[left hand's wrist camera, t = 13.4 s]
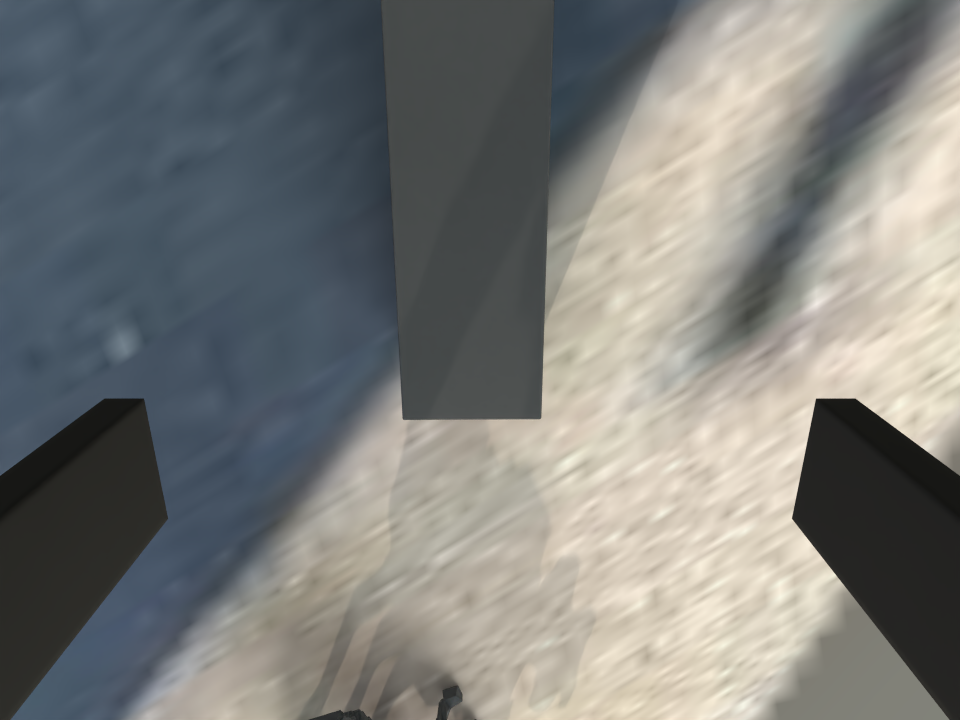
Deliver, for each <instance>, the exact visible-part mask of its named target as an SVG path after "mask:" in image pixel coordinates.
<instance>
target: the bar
mask: <svg viewBox="0 0 960 720" xmlns="http://www.w3.org/2000/svg"><path fill="white" fill-rule="evenodd" d="M381 13H382V32H383V52H384V71H385V90H386V109H387V128H388V147H389V166H390V185H391V204H392V223H393V242H394V261H395V280H396V299H397V318H398V337H399V356H400V375H401V394H402V413H403V420H477V419H541V410H542V377H543V345H544V313H545V281H546V249H547V216H548V184H549V152H550V120H551V87H552V55H553V23H554V0H381Z"/></svg>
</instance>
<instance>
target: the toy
mask: <svg viewBox="0 0 960 720" xmlns="http://www.w3.org/2000/svg"><path fill="white" fill-rule="evenodd" d="M460 702H462V693H461V691H460V689H459V687H458V686H455V687H452V688H449V689H445V690H443V699H442V700H441V701H440V702H439V707H438V715H437V718H436V720H447V717H448V714H449V711H450V709H451V708H452V707H453V706H455V705H457V704H459V703H460ZM310 720H371V718H370V717H367V716H366V715H365V714H364V712H363V711H361V710H360V709H359V710H355V711H349V712H345V713H343V712H342V711H341V710H339V711H336V712H332V713H329V714H326V715H323V716H320V717H316V718H313V719H310ZM475 720H476V719H475Z"/></svg>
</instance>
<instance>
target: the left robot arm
mask: <svg viewBox="0 0 960 720" xmlns="http://www.w3.org/2000/svg"><path fill="white" fill-rule="evenodd" d="M167 519H168V516H167V511H166V507H165V502H164V497H163V492H162V487H161V482H160V477H159V472H158V467H157V462H156V457H155V452H154V447H153V442H152V437H151V432H150V427H149V422H148V417H147V412H146V407H145V402H144V399H103V400H102V401H101V402H99V403H98V404H97V405H95V406H94V407H93V408H91V409H90V410H89V411H87V412H86V413H85V414H83V415H82V416H81V417H79V418H78V419H76V420H75V421H74V422H72V423H71V424H70V425H68V426H67V427H66V428H64V429H63V430H62V431H60V432H59V433H58V434H56V435H55V436H54V437H52V438H51V439H49V440H48V441H47V442H45V443H44V444H43V445H41V446H40V447H39V448H37V449H36V450H35V451H33V452H32V453H31V454H29V455H28V456H27V457H25V458H24V459H22V460H21V461H20V462H18V463H17V464H16V465H14V466H13V467H12V468H10V469H9V470H8V471H6V472H5V473H4V474H2V475H1V476H0V720H11V718H12V717H13V716H14V714H15V713H16V712H17V711H18V709H19V708H20V707H21V706H22V704H23V703H24V702H25V700H26V699H27V698H28V697H29V695H30V694H31V693H32V691H33V690H34V689H35V688H36V686H37V685H38V684H39V683H40V681H41V680H42V679H43V677H44V676H45V675H46V674H47V672H48V671H49V670H50V669H51V667H52V666H53V665H54V663H55V662H56V661H57V660H58V658H59V657H60V656H61V654H62V653H63V652H64V651H65V649H66V648H67V647H68V646H69V644H70V643H71V642H72V640H73V639H74V638H75V637H76V635H77V634H78V633H79V632H80V630H81V629H82V628H83V626H84V625H85V624H86V623H87V621H88V620H89V619H90V617H91V616H92V615H93V614H94V612H95V611H96V610H97V609H98V607H99V606H100V605H101V603H102V602H103V601H104V600H105V598H106V597H107V596H108V595H109V593H110V592H111V591H112V589H113V588H114V587H115V586H116V584H117V583H118V582H119V580H120V579H121V578H122V577H123V575H124V574H125V573H126V572H127V570H128V569H129V568H130V566H131V565H132V564H133V563H134V561H135V560H136V559H137V558H138V556H139V555H140V554H141V552H142V551H143V550H144V549H145V547H146V546H147V545H148V543H149V542H150V541H151V540H152V538H153V537H154V536H155V535H156V533H157V532H158V531H159V529H160V528H161V527H162V526H163V524H164V523H165V522H166V521H167ZM792 519H793V521H794V522H795V523H796V524H797V526H798V527H799V528H800V529H801V531H802V532H803V533H804V535H805V536H806V537H807V538H808V540H809V541H810V542H811V543H812V545H813V546H814V547H815V549H816V550H817V551H818V552H819V554H820V555H821V556H822V558H823V559H824V560H825V561H826V563H827V564H828V565H829V566H830V568H831V569H832V570H833V572H834V573H835V574H836V575H837V577H838V578H839V579H840V580H841V582H842V583H843V584H844V586H845V587H846V588H847V589H848V591H849V592H850V593H851V595H852V596H853V597H854V598H855V600H856V601H857V602H858V603H859V605H860V606H861V607H862V609H863V610H864V611H865V612H866V614H867V615H868V616H869V617H870V619H871V620H872V621H873V623H874V624H875V625H876V626H877V628H878V629H879V630H880V631H881V633H882V634H883V635H884V637H885V638H886V639H887V640H888V642H889V643H890V644H891V646H892V647H893V648H894V649H895V651H896V652H897V653H898V654H899V656H900V657H901V658H902V660H903V661H904V662H905V663H906V665H907V666H908V667H909V669H910V670H911V671H912V672H913V674H914V675H915V676H916V677H917V679H918V680H919V681H920V682H921V684H922V685H923V686H924V688H925V689H926V690H927V691H928V693H929V694H930V695H931V697H932V698H933V699H934V700H935V702H936V703H937V704H938V705H939V707H940V708H941V709H942V711H943V712H944V713H945V714H946V716H947V717H948V718H949V720H960V476H959V475H958V474H956V473H955V472H954V471H952V470H951V469H950V468H948V467H947V466H946V465H944V464H943V463H942V462H940V461H939V460H938V459H936V458H935V457H933V456H932V455H931V454H929V453H928V452H927V451H925V450H924V449H923V448H921V447H920V446H919V445H917V444H916V443H915V442H913V441H912V440H911V439H909V438H908V437H906V436H905V435H904V434H902V433H901V432H900V431H898V430H897V429H896V428H894V427H893V426H892V425H890V424H889V423H888V422H886V421H885V420H884V419H882V418H881V417H879V416H878V415H877V414H875V413H874V412H873V411H871V410H870V409H869V408H867V407H866V406H865V405H863V404H862V403H861V402H859V401H858V400H857V399H816V402H815V407H814V412H813V417H812V422H811V427H810V432H809V437H808V442H807V447H806V452H805V457H804V462H803V467H802V472H801V477H800V482H799V487H798V492H797V497H796V502H795V506H794V511H793V516H792Z"/></svg>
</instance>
